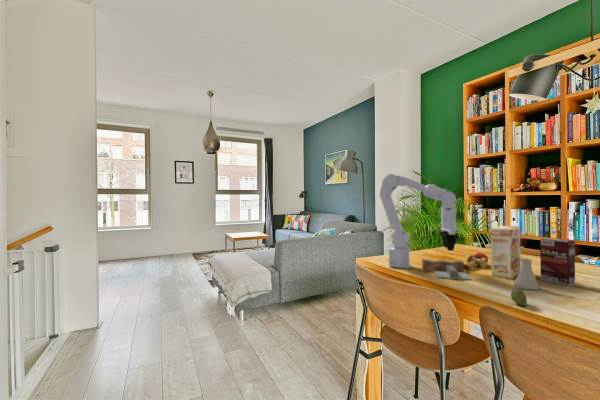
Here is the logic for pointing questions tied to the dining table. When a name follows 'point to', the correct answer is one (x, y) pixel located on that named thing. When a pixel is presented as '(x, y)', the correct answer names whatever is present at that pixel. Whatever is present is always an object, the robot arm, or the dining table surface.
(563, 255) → the supplement box
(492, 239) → the coffeecake box
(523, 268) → the flask
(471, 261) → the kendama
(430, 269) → the beam
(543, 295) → the dining table surface
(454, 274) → the fulcrum
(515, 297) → the lime
